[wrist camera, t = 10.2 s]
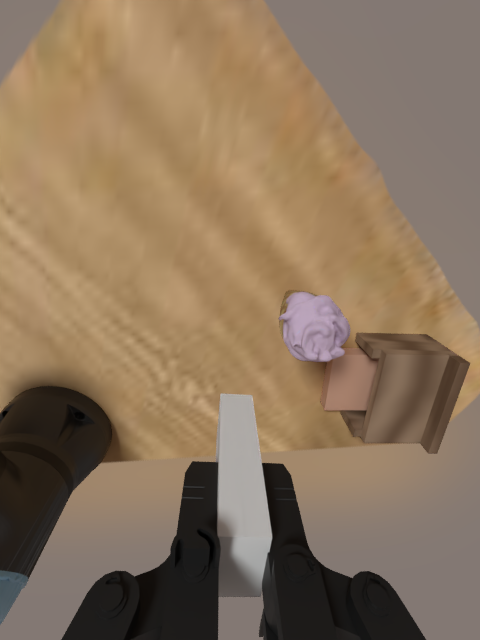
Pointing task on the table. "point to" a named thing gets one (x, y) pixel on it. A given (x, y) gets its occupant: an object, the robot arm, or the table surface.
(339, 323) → the ice cream cone
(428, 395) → the brown channel bracket
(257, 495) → the robot arm
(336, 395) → the pinkish brown block
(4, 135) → the table surface
